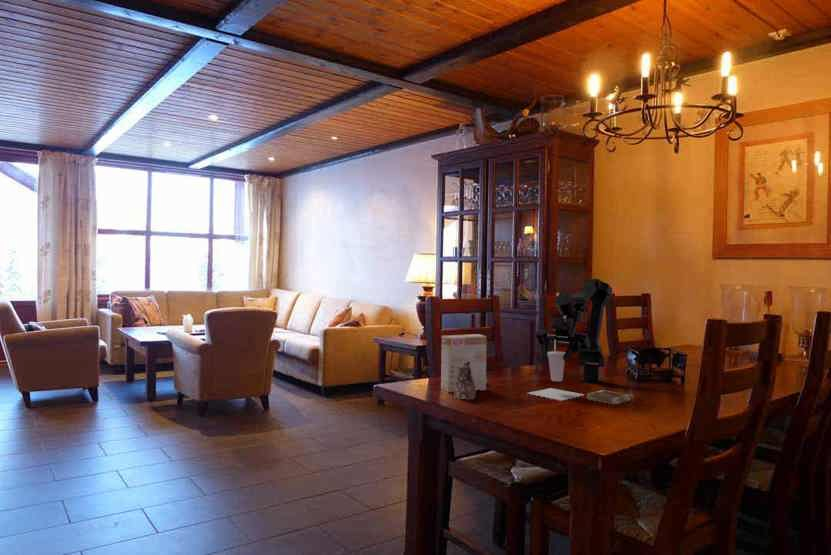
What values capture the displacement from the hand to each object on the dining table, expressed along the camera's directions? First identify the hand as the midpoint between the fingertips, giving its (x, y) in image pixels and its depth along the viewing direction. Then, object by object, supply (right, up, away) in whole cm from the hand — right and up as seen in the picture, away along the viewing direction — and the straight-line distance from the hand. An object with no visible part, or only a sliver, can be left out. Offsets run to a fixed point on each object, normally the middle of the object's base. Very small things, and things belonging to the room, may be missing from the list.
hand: (555, 358), depth 204 cm
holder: (+16, -13, -6) cm, 22 cm away
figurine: (-32, -13, -5) cm, 34 cm away
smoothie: (+1, -8, +1) cm, 8 cm away
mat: (0, -13, +1) cm, 13 cm away
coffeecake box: (-31, -12, +8) cm, 34 cm away
